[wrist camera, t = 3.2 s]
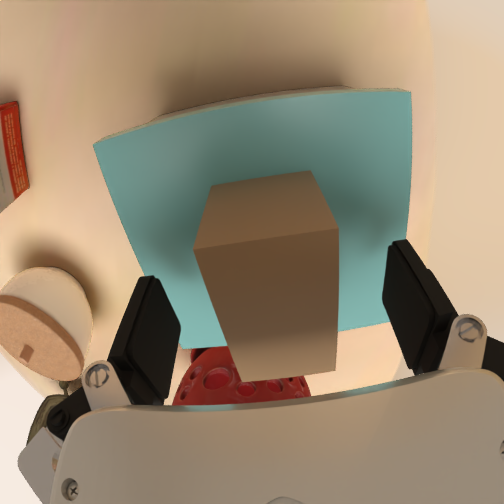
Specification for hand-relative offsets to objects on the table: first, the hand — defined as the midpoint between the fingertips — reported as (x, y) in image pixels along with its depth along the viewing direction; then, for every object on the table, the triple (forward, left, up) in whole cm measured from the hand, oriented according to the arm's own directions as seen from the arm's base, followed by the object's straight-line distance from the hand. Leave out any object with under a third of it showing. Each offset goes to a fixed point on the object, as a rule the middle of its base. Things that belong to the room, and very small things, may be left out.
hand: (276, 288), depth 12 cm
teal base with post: (0, 0, -5) cm, 5 cm away
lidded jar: (+7, -22, -11) cm, 26 cm away
